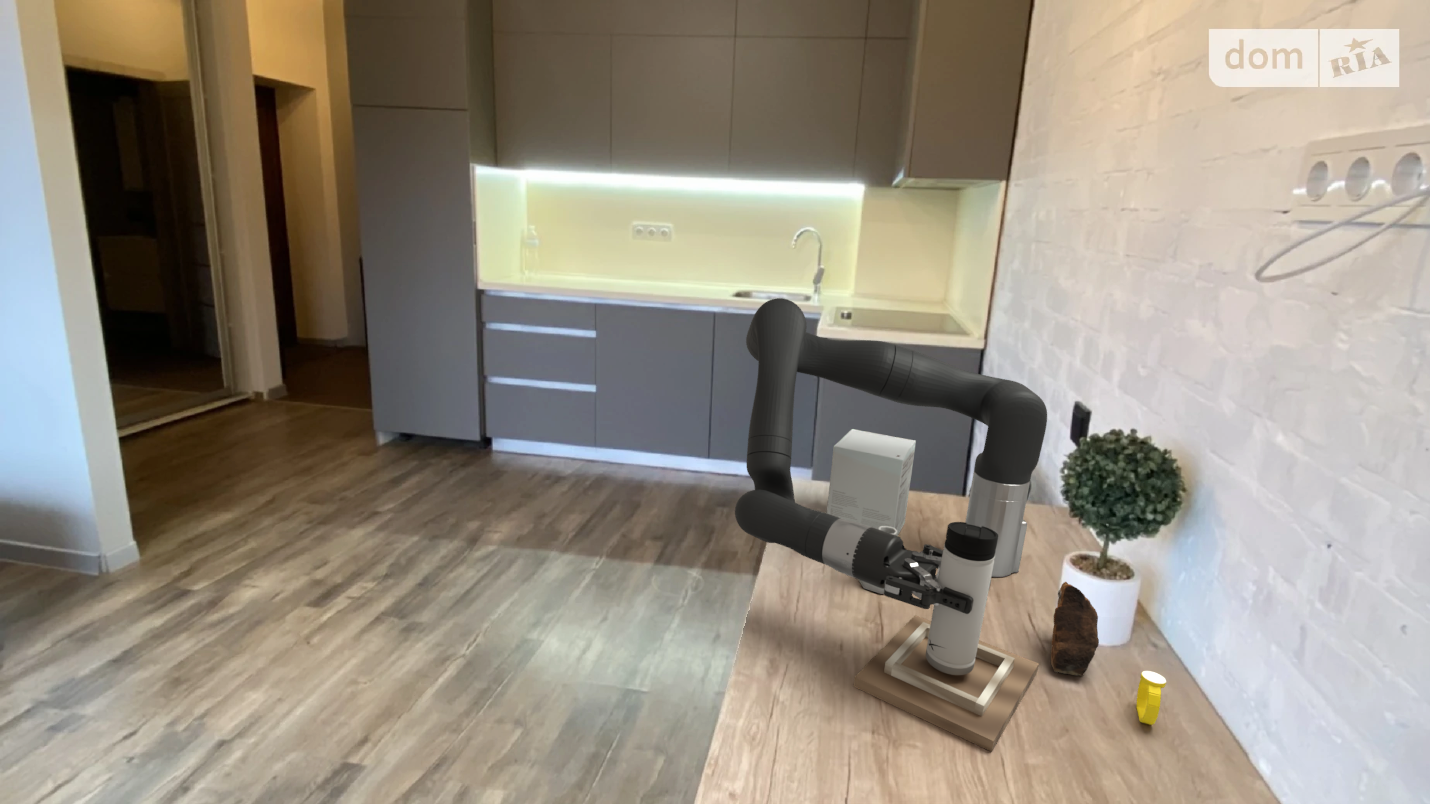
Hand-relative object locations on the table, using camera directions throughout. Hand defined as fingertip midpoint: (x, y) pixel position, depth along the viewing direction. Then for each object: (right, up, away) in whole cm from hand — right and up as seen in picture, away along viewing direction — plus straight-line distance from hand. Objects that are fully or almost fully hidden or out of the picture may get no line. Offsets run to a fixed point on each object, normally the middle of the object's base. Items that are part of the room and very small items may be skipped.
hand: (980, 595), depth 95 cm
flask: (-6, -6, +29) cm, 30 cm away
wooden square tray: (-3, -13, +5) cm, 14 cm away
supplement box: (-4, 0, +51) cm, 51 cm away
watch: (+21, -16, 0) cm, 26 cm away
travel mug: (-3, -10, +4) cm, 11 cm away
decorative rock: (+17, -12, +12) cm, 24 cm away
